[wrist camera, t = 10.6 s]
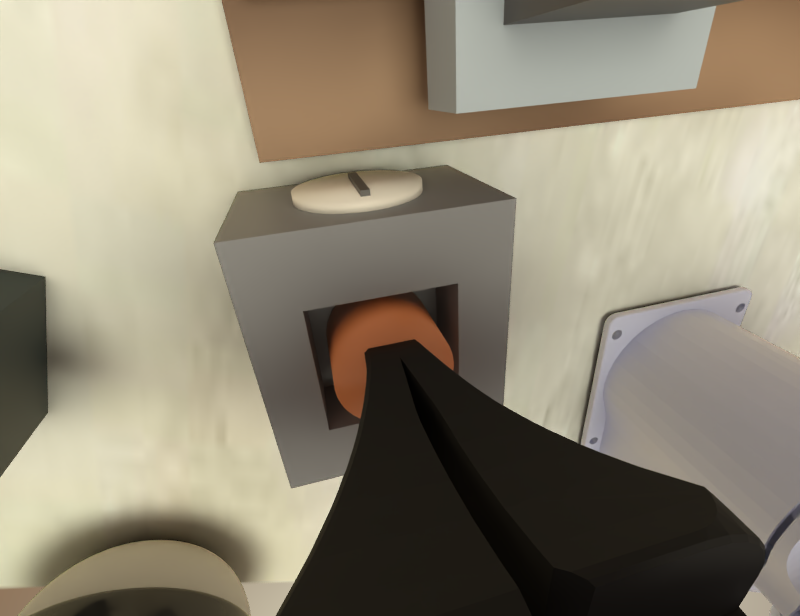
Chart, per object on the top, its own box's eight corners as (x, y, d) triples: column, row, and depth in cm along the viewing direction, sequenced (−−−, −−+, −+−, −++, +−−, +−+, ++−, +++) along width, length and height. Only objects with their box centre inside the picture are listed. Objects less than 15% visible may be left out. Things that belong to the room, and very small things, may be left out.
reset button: (429, 360, 14) (454, 408, 12) (334, 380, 13) (343, 434, 11) (425, 274, 12) (453, 312, 10) (317, 292, 12) (323, 336, 10)
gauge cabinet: (450, 353, 18) (501, 435, 14) (290, 387, 17) (291, 488, 13) (446, 151, 14) (517, 179, 10) (233, 177, 13) (207, 222, 8)
